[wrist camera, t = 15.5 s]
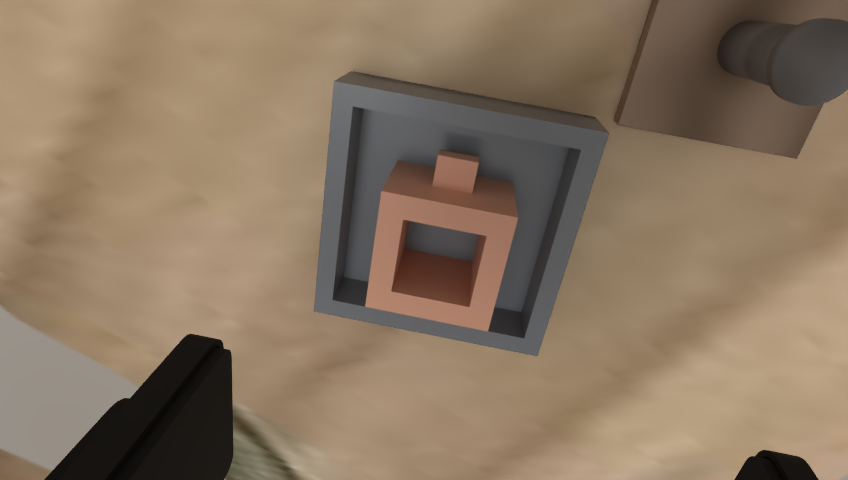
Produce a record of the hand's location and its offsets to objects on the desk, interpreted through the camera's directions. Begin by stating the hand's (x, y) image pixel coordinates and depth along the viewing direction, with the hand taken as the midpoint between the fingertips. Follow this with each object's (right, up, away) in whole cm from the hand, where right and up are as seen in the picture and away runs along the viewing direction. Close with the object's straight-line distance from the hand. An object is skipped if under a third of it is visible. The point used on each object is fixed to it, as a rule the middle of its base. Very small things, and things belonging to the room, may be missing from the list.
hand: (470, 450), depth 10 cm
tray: (+1, +6, +21) cm, 22 cm away
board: (+14, +13, +16) cm, 25 cm away
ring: (0, +5, +21) cm, 21 cm away
